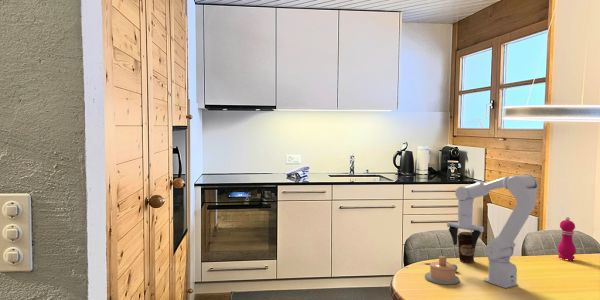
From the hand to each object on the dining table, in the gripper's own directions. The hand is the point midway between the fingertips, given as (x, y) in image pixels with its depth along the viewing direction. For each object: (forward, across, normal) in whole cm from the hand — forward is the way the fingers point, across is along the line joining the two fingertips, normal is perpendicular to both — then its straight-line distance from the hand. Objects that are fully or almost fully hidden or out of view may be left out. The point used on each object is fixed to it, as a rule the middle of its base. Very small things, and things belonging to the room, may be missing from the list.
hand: (464, 246), depth 170 cm
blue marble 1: (+10, +6, +3) cm, 12 cm away
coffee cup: (+11, +3, -14) cm, 18 cm away
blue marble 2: (+10, +3, +4) cm, 12 cm away
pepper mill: (+11, -31, -49) cm, 59 cm away
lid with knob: (+10, +3, +16) cm, 19 cm away
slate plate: (+10, +3, +17) cm, 20 cm away
